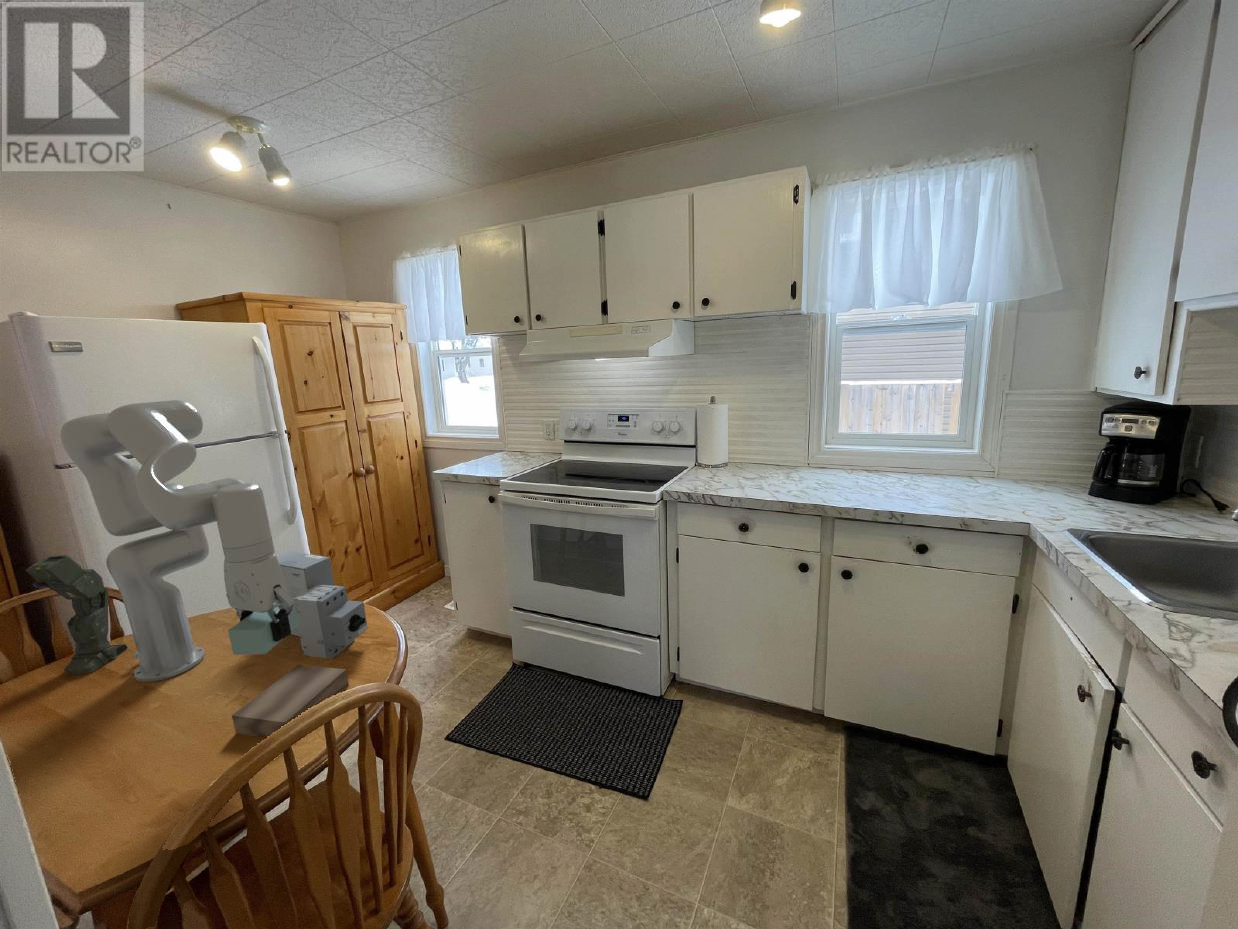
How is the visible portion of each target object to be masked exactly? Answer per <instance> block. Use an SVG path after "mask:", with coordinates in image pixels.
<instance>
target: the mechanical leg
mask: <svg viewBox="0 0 1238 929" xmlns="http://www.w3.org/2000/svg"><path fill="white" fill-rule="evenodd" d="M25 572H26V573H28V574H29V575H30V576H31V577H32V578H33V579H34V580H36V581H37V582H34V583H33V584H32V587H34V588H46V589H49V590H52V591H54V592H55V593H57V594H58V595H60V596H62V598H64V599H66V600H68V601H70V600H71V606H72V609H73V610H74V613H75V614H74V615H73V616H71V617H70V619H69V620H68V622H67V623H66V625H67V628H68V631H69V634H70V637H72V640H73V642H74V643H75V648H74V655H72V657H70V660H71V661H70V662H69V663H68V664H67V665H66V666H65V668H64V669H63V671H64V672H65V675H67V676H70V675H73V676H74V675H84V674H85V675H86V674H92V673H93V672H96V671H97V670H98V669H99V668H101V667H102V666H104V665H106V664H108V663H109V662H110V661H112V660H115V659H116V658H118V656H119V655H120V654H123V652H125V651H126V650H127V649H128V648H129V647H128V645H127V644H125V643H124V644H114V645H113V644H110V641H109V640H108V635H109V632H110V631H109V601H110V600H109V598H110V596H109V590H108V589H106V588H105V587H104V586H105V585H104V580H103V577H102V576H101V575H100V574H99V573H98V572H97V571H95V569H94V568H89V569H83V568H82V566H81V565H80V564H79V563H78V562H76V560H74V559H73V558H72V557H71V556H70V555H69V554H59V555H58V554H57V555H55V554H54V555H48V556H47V557H43V558H42V559H40V560H38V561H37V562H35V563H34V564H32V565H31V566H29V567H28V568H26V569H25Z"/></svg>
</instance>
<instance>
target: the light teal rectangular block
mask: <svg viewBox="0 0 1238 929" xmlns="http://www.w3.org/2000/svg"><path fill="white" fill-rule="evenodd" d="M275 604H277V603H273V605H275ZM279 610H280V609H279V607H276V608H274V611H275V613H276V614H277V613H278V612H279ZM288 619H289V624H290V629H291V632H292V631H293V630H294V629H295V628H296V627H298V626H299V621H298V616H297V611H296V606H295V604H294V606H293V608H292V611H291V612H290V615H289V616H288ZM272 622H273V621H272V619H271V618H270V616H269V614H268V613H267V612H265V613H260V612H253V613H252V614H250V615H249V616H248V617H246V618H245V619H243V620H242V621H241V622H240V621H239V622H238V623H237V624H235V625H234V626H232V627H230V629H227V632H228V637H229V642H230V647H231V650H232V651H231V652H232V654H233V656H234V655H235V656H236V655H239V656H240V655H243V656H244V655H245V656H247V655H266V654H268V652H270V651H271V650H272V649H273V648H274V647H276V645H278V644H279V643H280V642H281V641H282V640H284V639H285V638H283V639H281V640H280V641H278V642H276V641H274V639H273V634H272V629H271V624H270V623H272Z"/></svg>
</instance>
